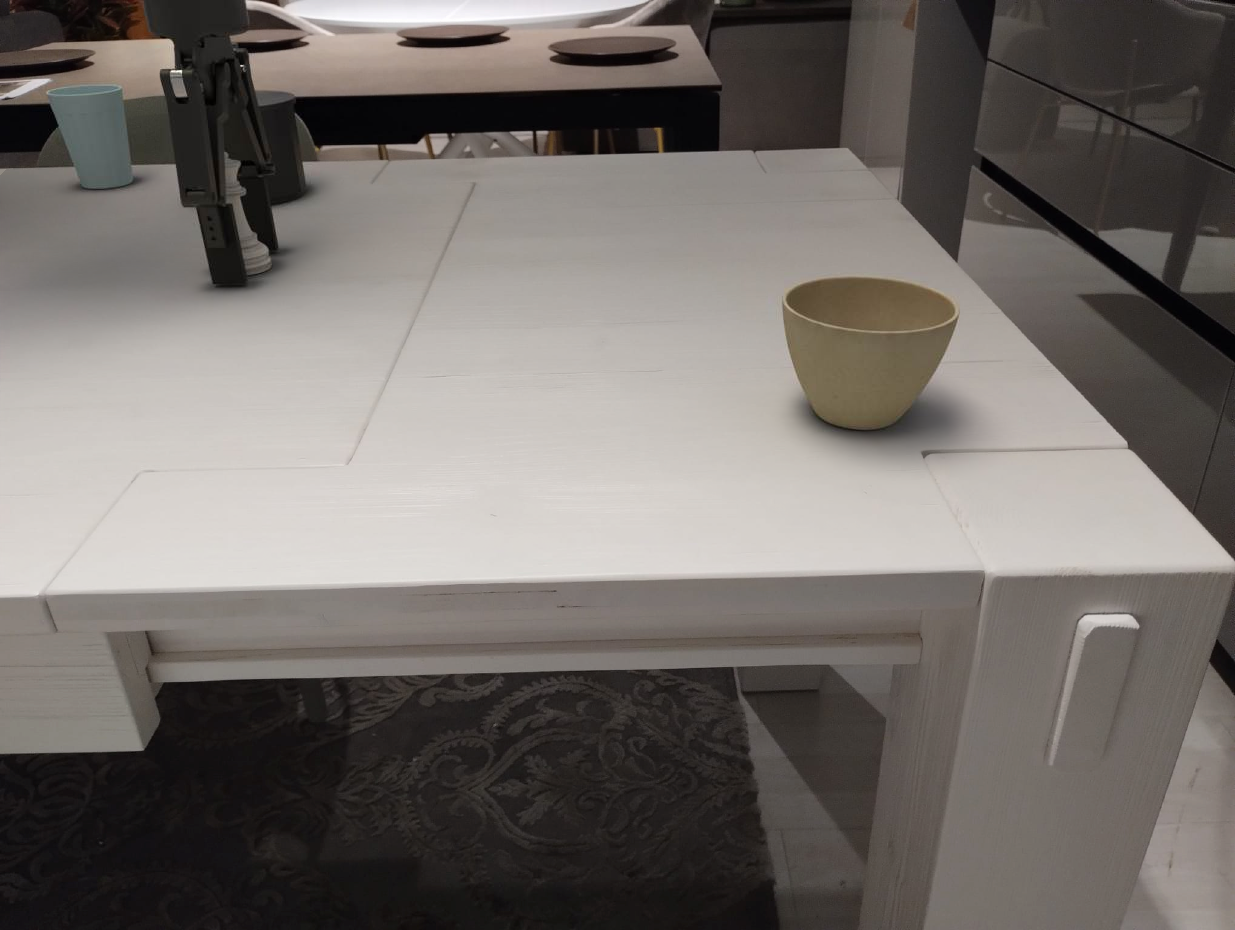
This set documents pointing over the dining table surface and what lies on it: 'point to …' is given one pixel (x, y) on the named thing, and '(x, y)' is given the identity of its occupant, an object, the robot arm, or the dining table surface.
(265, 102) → the pot lid
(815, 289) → the flower pot
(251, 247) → the chess piece
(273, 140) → the pot
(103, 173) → the cup
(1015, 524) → the dining table surface
